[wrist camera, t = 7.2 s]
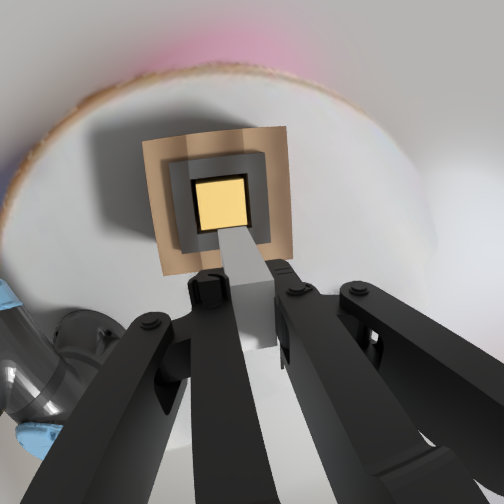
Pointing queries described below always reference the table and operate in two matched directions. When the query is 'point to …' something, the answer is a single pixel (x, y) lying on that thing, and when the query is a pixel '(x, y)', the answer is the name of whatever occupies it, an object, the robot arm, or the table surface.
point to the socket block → (209, 165)
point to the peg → (221, 201)
